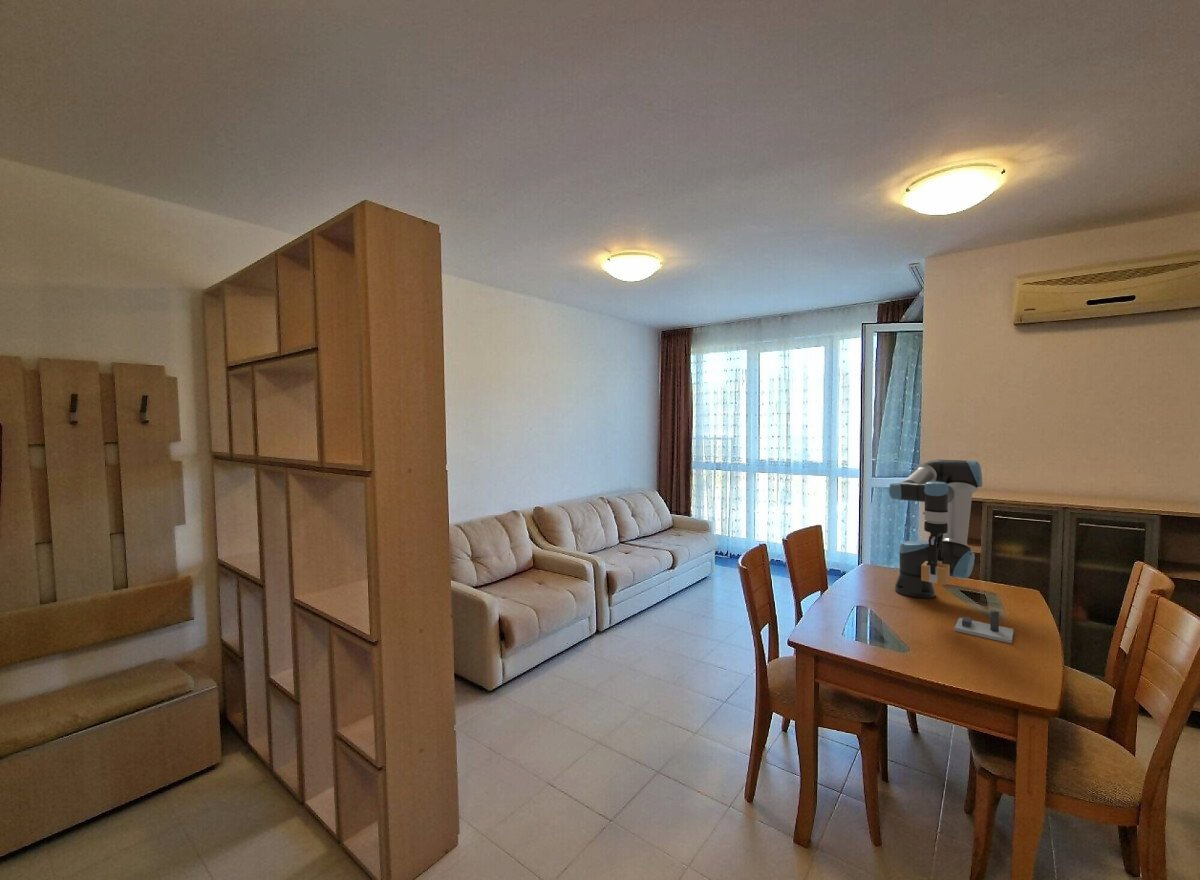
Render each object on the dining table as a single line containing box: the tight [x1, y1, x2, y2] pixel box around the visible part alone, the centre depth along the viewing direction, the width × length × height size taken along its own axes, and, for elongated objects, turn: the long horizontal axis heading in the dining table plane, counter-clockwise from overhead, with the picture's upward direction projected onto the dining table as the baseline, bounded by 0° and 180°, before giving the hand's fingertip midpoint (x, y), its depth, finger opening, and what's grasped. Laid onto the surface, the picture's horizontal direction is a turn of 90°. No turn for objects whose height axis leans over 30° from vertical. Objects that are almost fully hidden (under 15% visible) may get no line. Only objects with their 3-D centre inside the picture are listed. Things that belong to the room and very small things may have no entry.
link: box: [921, 561, 951, 586], centre depth 190 cm, size 8×8×6 cm
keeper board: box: [954, 609, 1014, 645], centre depth 178 cm, size 12×16×8 cm
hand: (935, 579), depth 190 cm, fingers closed on link, 8 cm apart
